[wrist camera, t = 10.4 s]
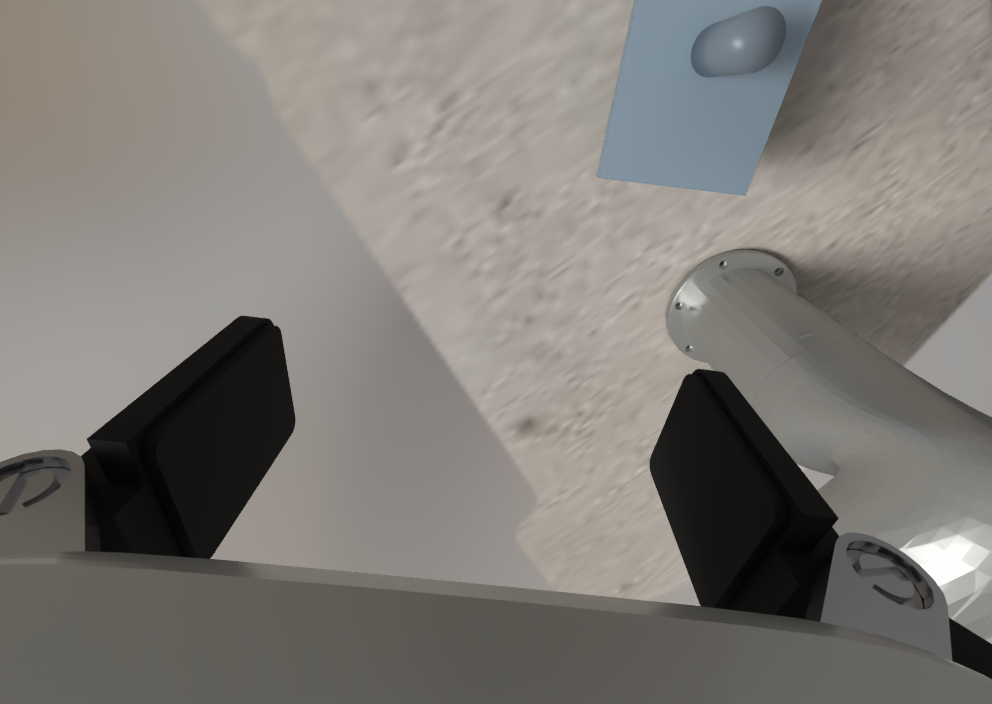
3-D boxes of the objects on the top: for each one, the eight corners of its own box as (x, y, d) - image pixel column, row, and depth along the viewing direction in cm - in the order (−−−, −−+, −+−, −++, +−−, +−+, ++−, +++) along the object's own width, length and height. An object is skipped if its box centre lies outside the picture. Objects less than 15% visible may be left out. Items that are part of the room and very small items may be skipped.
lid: (855, -114, 22) (963, -180, 17) (738, 192, 29) (786, 212, 24) (664, -141, 21) (712, -216, 16) (596, 175, 29) (614, 192, 24)
